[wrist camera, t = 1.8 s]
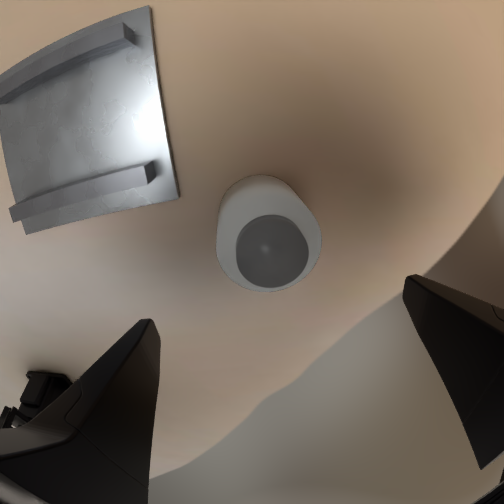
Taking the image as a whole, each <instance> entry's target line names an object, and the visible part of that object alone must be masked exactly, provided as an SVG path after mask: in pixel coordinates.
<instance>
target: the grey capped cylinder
mask: <svg viewBox="0 0 504 504" xmlns="http://www.w3.org/2000/svg"><path fill="white" fill-rule="evenodd" d="M321 246H322V236H321V230H320V227H319V224H318V222H317V220H316V218H315V217H314V215H313V214H312V213H311V211H310V210H309V209H308V208H307V207H306V205H305V204H304V203H303V202H302V201H301V199H300V198H299V197H298V196H297V195H296V193H295V192H294V191H293V190H292V189H291V187H290V186H288V185H287V184H286V183H285V182H283V181H282V180H280V179H278V178H275V177H272V176H267V175H254V176H249V177H246V178H244V179H242V180H240V181H238V182H236V183H235V184H234V185H233V186H231V187H230V188H229V189H228V191H227V192H226V193H225V195H224V196H223V198H222V200H221V203H220V206H219V213H218V225H217V238H216V253H217V258H218V261H219V263H220V266H221V268H222V269H223V271H224V272H225V274H226V275H227V276H228V277H229V278H230V279H231V280H232V281H234V282H235V283H236V284H238V285H240V286H242V287H244V288H246V289H249V290H253V291H258V292H273V291H279V290H283V289H286V288H288V287H290V286H293V285H294V284H296V283H298V282H299V281H301V280H302V279H303V278H304V277H305V276H306V275H307V274H309V272H310V271H311V270H312V269H313V267H314V265H315V264H316V262H317V260H318V258H319V255H320V251H321Z"/></svg>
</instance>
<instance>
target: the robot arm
mask: <svg viewBox="0 0 504 504" xmlns="http://www.w3.org/2000/svg"><path fill="white" fill-rule="evenodd" d="M403 301H404V304H405V306H406V308H407V310H408V312H409V315H410V317H411V319H412V321H413V324H414V326H415V328H416V330H417V333H418V335H419V336H420V338H421V340H422V342H423V344H424V346H425V347H426V349H427V351H428V353H429V355H430V357H431V359H432V361H433V363H434V364H435V366H436V368H437V370H438V372H439V374H440V376H441V378H442V380H443V382H444V384H445V386H446V389H447V390H448V393H449V395H450V397H451V399H452V401H453V403H454V406H455V408H456V410H457V412H458V414H459V417H460V419H461V421H462V423H463V426H464V429H465V431H466V433H467V436H468V439H469V441H470V444H471V446H472V449H473V451H474V454H475V457H476V460H477V462H478V465H479V468H480V469H481V470H482V469H484V468H485V467H486V466H488V465H489V464H491V463H492V462H493V461H495V460H496V459H498V458H499V457H500V456H502V455H503V454H504V309H502V308H500V307H497V306H495V305H491V304H490V303H488V302H485V301H483V300H480V299H478V298H476V297H473V296H471V295H468V294H466V293H463V292H461V291H458V290H456V289H453V288H451V287H448V286H446V285H443V284H440V283H438V282H435V281H433V280H430V279H428V278H425V277H422V276H420V275H417V274H414V275H410V276H407V277H406V279H405V284H404V289H403ZM160 347H161V340H160V336H159V333H158V331H157V329H156V326H155V324H154V322H153V320H152V319H150V318H149V319H141V320H139V321H138V322H137V323H136V324H135V325H134V326H133V327H132V328H131V329H130V330H129V331H127V332H126V333H125V334H124V335H123V336H122V337H121V338H120V339H119V340H118V341H117V342H116V343H115V344H114V345H113V346H112V347H111V348H110V349H109V350H107V351H106V352H105V353H104V354H103V355H102V356H101V357H100V358H99V359H98V360H97V361H96V362H95V363H94V364H93V365H92V366H91V367H90V368H89V369H88V370H87V371H86V372H85V373H84V374H83V375H82V376H81V377H80V378H79V379H77V380H76V381H75V382H74V383H73V384H71V382H70V381H69V380H68V378H67V377H66V376H64V375H62V374H48V373H37V372H27V374H26V376H27V378H28V379H29V382H28V384H27V386H26V388H25V390H24V392H23V394H22V396H21V398H20V402H21V405H20V407H19V409H17V408H15V407H14V406H13V407H12V409H11V408H9V407H7V406H5V407H4V409H3V411H2V414H1V416H0V504H148V485H149V471H150V458H151V447H152V437H153V427H154V419H155V410H156V402H157V394H158V387H159V377H160ZM11 425H13V426H15V427H16V428H13V427H11ZM472 504H504V469H503V473H502V476H501V480H500V483H499V485H497V486H496V487H495V488H493V489H492V490H491V491H489V492H488V493H486V494H485V495H483V496H482V497H481V498H479V499H478V500H476V501H475V502H473V503H472Z"/></svg>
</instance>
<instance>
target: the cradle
mask: <svg viewBox="0 0 504 504" xmlns="http://www.w3.org/2000/svg"><path fill="white" fill-rule="evenodd" d="M0 135H1V141H2V147H3V152H4V157H5V162H6V167H7V171H8V176H9V180H10V184H11V188H12V191H13V195H14V199H15V202H16V204H15V205H13V206H12V207H10V208H9V211H10V214H11V217H12V220H13V223H14V222H17V221H20V220H21V221H22V224H23V227H24V230H25V233H26V235H27V234H31V233H34V232H38V231H41V230H45V229H49V228H52V227H56V226H60V225H64V224H67V223H71V222H75V221H79V220H83V219H87V218H91V217H95V216H100V215H104V214H108V213H113V212H117V211H122V210H126V209H131V208H135V207H140V206H145V205H150V204H155V203H160V202H165V201H170V200H175V199H179V197H180V193H179V189H178V184H177V179H176V174H175V169H174V163H173V158H172V153H171V147H170V142H169V136H168V131H167V125H166V119H165V113H164V107H163V100H162V94H161V87H160V80H159V73H158V65H157V58H156V50H155V41H154V32H153V23H152V12H151V8H150V6H149V5H148V6H144V7H141V8H137V9H134V10H131V11H128V12H125V13H122V14H119V15H116V16H113V17H111V18H108V19H105V20H103V21H100V22H98V23H95V24H93V25H90V26H88V27H86V28H83V29H81V30H79V31H76V32H74V33H72V34H70V35H68V36H66V37H64V38H62V39H60V40H58V41H56V42H54V43H52V44H50V45H48V46H46V47H45V48H43V49H41V50H39V51H37V52H36V53H34V54H32V55H31V56H29V57H27V58H26V59H24V60H22V61H21V62H19V63H18V64H16V65H14V66H13V67H11V68H10V69H8V70H7V71H5V72H4V73H3V74H1V75H0Z"/></svg>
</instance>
